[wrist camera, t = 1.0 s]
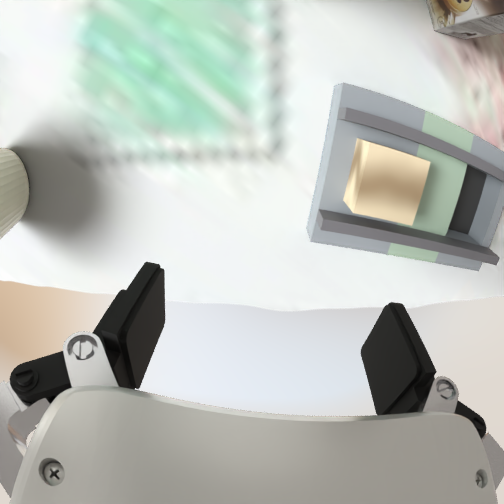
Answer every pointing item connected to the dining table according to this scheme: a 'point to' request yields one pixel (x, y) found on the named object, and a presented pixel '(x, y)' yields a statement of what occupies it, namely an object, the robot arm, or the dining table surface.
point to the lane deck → (434, 193)
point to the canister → (12, 190)
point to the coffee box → (467, 17)
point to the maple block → (385, 182)
